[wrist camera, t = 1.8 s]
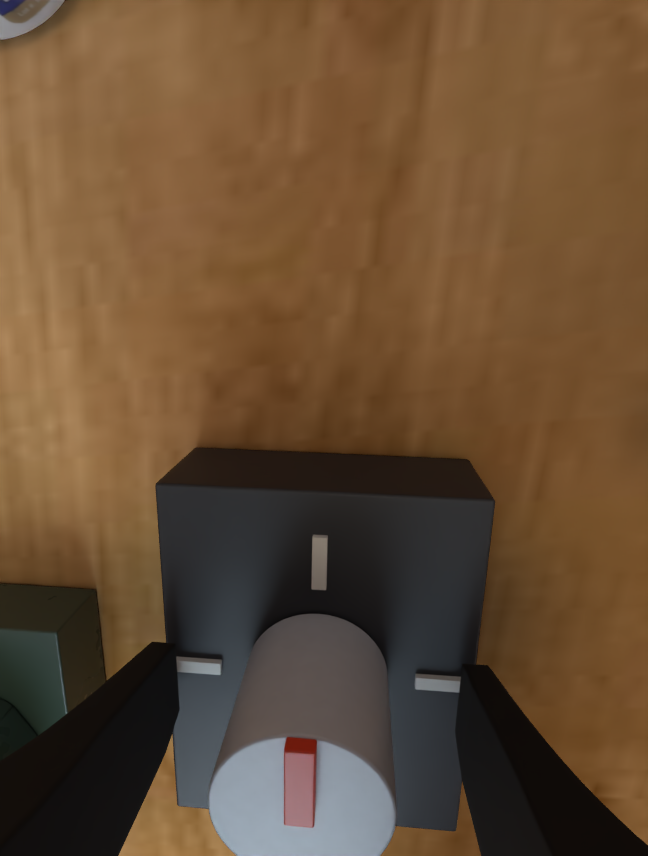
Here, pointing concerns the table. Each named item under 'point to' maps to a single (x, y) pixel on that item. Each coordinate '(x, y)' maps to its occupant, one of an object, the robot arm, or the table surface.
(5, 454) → the table surface
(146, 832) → the table surface
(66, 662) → the switch box
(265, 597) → the dimmer console
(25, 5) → the pill bottle
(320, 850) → the dimmer knob
